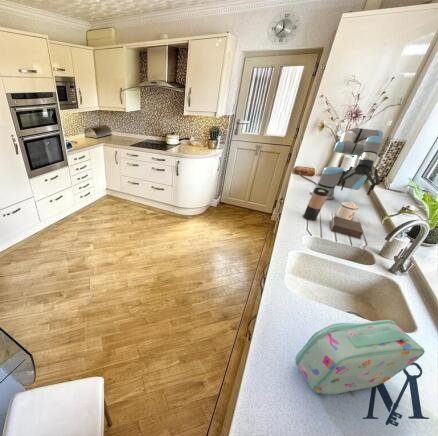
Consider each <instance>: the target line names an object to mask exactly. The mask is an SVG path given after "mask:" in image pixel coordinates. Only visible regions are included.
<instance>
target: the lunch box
mask: <svg viewBox="0 0 438 436" xmlns="http://www.w3.org/2000/svg"><path fill="white" fill-rule="evenodd" d="M397 324H398V323H396V322H395V321H394V320H390V319H379V320H373V321H368V322H338V323H333V324H330V325H327V326H325V327H324V328H322V329H320V330H318V331H316V332H315V333H313V335H311V336H310V338H309V339H308V341H307V342H306V343H305V345H303V347H302V348H301V349H300V350H299V352H297V354H296V356H295V359H294V360H295V365H296V366H297V367H298V369H299V371H300V372H301V374H302V375H303V377H304V379H305V380H306V382H307V384H308V386H309V387H310V389H311V391H312V392H313V393H316V394H322V395H330V396H331V395H337V394H343V393H348V392H352V391H354V392H355V391H359V390H364V389H365V390H366V389H371V388H375V387H377V386H379V385H381V384H383V383H386V382H387V381H389V380H391V379H392V378H393V377H396V375H397V374H399V373H401V372H403V371H404V370H405V369H407V368H408V367H410V366H411V365H413V364H414V363H415V362H416V361H418V360H419V359H420V358H421V357H422V356H423V355H424V354H425V348H424V347H423V346H422V345H420V344H419V343H418V342H417V341H415V339H413V338H412V337H411V336H410V335H409V334H407V333H406V332H405V330H403V329H402V328H401V327H400V326H399V325H397Z"/></svg>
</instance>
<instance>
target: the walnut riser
mask: <svg viewBox="0 0 438 436" xmlns="http://www.w3.org/2000/svg"><path fill="white" fill-rule="evenodd" d="M330 231H331V232H334V233H339V234H342V235H346V236H350V237H353V238H356V239H361V237H362V236H363V234H364V231H363V227H362V224H361V222H359V221H355V220H352V219H351V220H347V219H343V218H339V217H337V216H335V215H333V216H332V218H331V219H330Z"/></svg>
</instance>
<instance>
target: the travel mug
mask: <svg viewBox="0 0 438 436" xmlns="http://www.w3.org/2000/svg"><path fill="white" fill-rule="evenodd" d="M314 188H315V187H314ZM328 193H329V191H328V190H326V189H323V188H315V190H314V192H313V194H311V197H310V198H309V201H308V203H307V206H306V209H305V211H304V213H303V216H302V217H303V218H304V219H305V220H308V221H316V220H317V218H318V217H319V216H318V215H319V214H320V212H321V211H322V208H323V206H324V204H325V202H326V200H327V199H326V197H327V195H328Z"/></svg>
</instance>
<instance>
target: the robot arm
mask: <svg viewBox="0 0 438 436" xmlns="http://www.w3.org/2000/svg"><path fill="white" fill-rule="evenodd" d="M383 137H384V132H383V131H382V130H379V129H370V128H362V127H355V128H354V127H353V128H350V129H346V130H345V131H344V132H342V133H341V134H340V137H339V140H340V141H337V142H336V144H335V146H334V149H333V152H334V153H338V154H345V155H351V156H354V157H353V159H352V162H351V164H350V166H349V168H348V169H346V170H344V168H343V167H339V166H327V167H324V169H323V171H322V172H321V174H320V177H319V179H318V182H317V183H316V182H315V181H313V180H312V179H310V178H308V177H306V176H304V175H302V174H301V173H302V172H301V171H300V172H299V176H300V177H302V178H304V179H306V180H308V181H309V182H312V183H314V185H315V186H314V188H312V189H311V192H310V194H311V195H312V194H313V192H314V190H315V188H323V189H326V190H328V191H329V193H328V195H327V197H326V200H332V199H334V197H335V188H336V187H339V188H341V189H340V192H342V191H343V189H344V188H345V189H350V190H355V191H359V190H360V189H361V188H362V187H363V185H364V183H365V182H366V180H367V179H368V180H369V182H370V186H369V189H368V191H367V193H366V196H369V195H370V194H371V191H374V190H375V187H376V186H379V185H381V181H380V178H379V174H378V170H379V169H377V168H376V169H372V168H373V166H374V163H375V160H376V158H377V156H378V152H379V150H380V147H381V145H382V144H383ZM371 172H372V174H373V176H374V178H373V177H372V175H371Z"/></svg>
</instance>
